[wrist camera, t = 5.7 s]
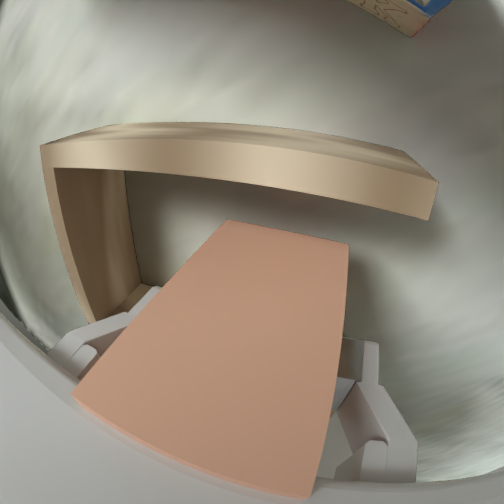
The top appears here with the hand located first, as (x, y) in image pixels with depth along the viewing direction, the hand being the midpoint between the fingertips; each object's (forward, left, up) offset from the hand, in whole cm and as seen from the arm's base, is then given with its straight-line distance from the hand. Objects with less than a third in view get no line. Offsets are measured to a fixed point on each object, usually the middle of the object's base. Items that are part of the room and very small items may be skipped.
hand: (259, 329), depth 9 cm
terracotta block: (0, 0, -3) cm, 3 cm away
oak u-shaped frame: (-3, 0, -5) cm, 6 cm away
